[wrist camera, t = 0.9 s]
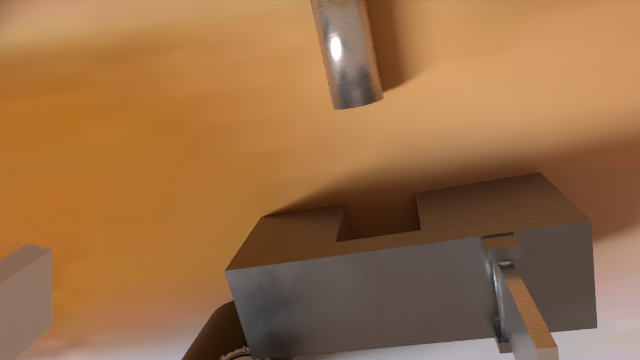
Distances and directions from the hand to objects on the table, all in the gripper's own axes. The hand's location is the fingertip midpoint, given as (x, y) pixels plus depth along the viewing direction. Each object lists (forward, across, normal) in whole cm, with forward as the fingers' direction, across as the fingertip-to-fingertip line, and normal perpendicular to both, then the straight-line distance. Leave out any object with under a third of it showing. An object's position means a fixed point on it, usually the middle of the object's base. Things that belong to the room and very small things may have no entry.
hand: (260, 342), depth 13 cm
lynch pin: (+24, -1, +8) cm, 25 cm away
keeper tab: (+14, +12, -4) cm, 18 cm away
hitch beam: (+24, +6, -6) cm, 25 cm away
